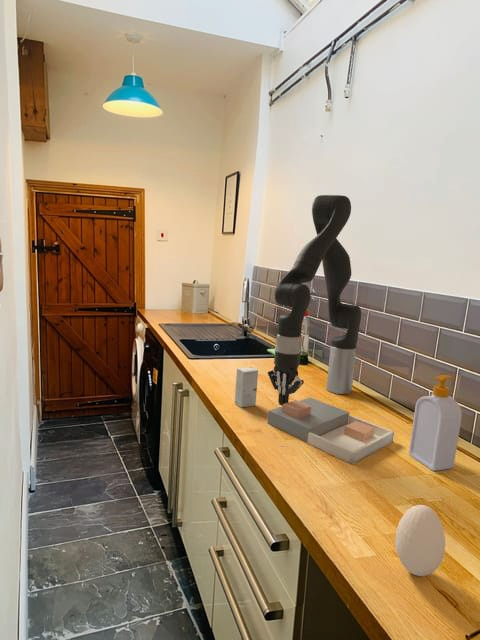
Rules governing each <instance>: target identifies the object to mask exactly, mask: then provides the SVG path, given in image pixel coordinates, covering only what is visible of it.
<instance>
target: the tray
mask: <svg viewBox="0 0 480 640" xmlns="http://www.w3.org/2000/svg"><path fill="white" fill-rule="evenodd" d="M355 421H357V422H360V423H362V424H365V425H368V426H370V427H373V428H375V431H374V436H373V437H372V438H370V439H368V440H366V441H365V442H361V441H359V440H357V439H354V438H352V437H349V436H347V435H344V432H345V426H347V425H349V424H351V423H353V422H355ZM394 435H395V431H393V430H390V429H388V428H386V427H382V426H380V425H377V424H374V423H372V422H370V421H367V420H364V419H362V418H360V417H356V416H354V415H352V414H351V415H350V414H349V421H348V424H346V425H344V426H342V427H339V428H337V429H335V430H333V431H330V432H328V433H326V434H323V435H321V436H318V435H316V434H313V433H311V432H309V433H308V442H307V444H308V445H311V446H313V447H314V448H316V449H319V450H321V451H323V452H325V453H327V454H329V455H332V456H333V457H336V458H338V459H340V460H342V461H344V462H347V463H348V464H350V465H352V466H353V465H355V464H356V463H358V462H360V461H361V460H363V459H365V458H367V457H368V456H370V455H373V454H374V453H376V452H378V451H379V450H381V449H383V448H384V447H386V446H387V445H389V444H392V443H393V442H394V438H395V437H394Z"/></svg>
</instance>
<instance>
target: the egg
mask: <svg viewBox="0 0 480 640" xmlns="http://www.w3.org/2000/svg"><path fill="white" fill-rule="evenodd" d="M395 531H396V532H395V539H394V541H395V551H396V554H397V557H398V558H399V561H400V562H401V564H402V566H403V567H404V568H405V569H406V570H407V571H408V572H409V573H410V574H412V575H415V576H419V577H425V576H426V577H427V576H428V575H431V574H433V573H434V572H435V571H436V570H437V569H438V568H439V567H440V566H441V564H442V562H443V559H444V556H445V553H446V536H445V531H444V527H443V524H442V522H441V519H440V518H439V516H438V514H437V513H436V512H435V510H434V509H432V508H431V507H429V506H427V505H423V504H417V505H413V506H412V507H410V508H409V509H408V510H407V511H406V512H405V513H404V514H403V515H402V517H401V518H400V519H399V522H398V524H397V528H396V530H395Z"/></svg>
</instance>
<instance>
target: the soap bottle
mask: <svg viewBox="0 0 480 640" xmlns="http://www.w3.org/2000/svg"><path fill="white" fill-rule="evenodd" d="M434 379H435V380H438V381H439V384H438V385H433V388H432V389H433V390H432V393H431V395H424V396H422V397H419V398H418V399H417V401H416V403H415V406H414V407H415V408H414V414H413V421H412V429H411V434H410V441H409V442H410V443H409V450H408V455H409V456H410V457H411V458H413V459H414V460H416V461H417V462H419V463H420V464H421V465H424V466H425V467H426V468H427V469H429V470H431V471H432V472H438V471H442V470H443V471H445V470H452V469H453V468H454V466H455V460H456V454H457V449H458V442H459V436H460V430H461V422H462V419H463V418H462V417H463V414H462V408H461V406H460V405H459V403H458V401H456V399H454V398H453V397H451V396H450V388H449V387H447V386H446V383H447V382H446V380H448V379H452V380H453V381H454V380H455V381H456V380H457V378H456V377H454V376H452V375H448V374H447V375H446V374H441V375H437V376H435V377H434Z"/></svg>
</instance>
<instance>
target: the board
mask: <svg viewBox="0 0 480 640" xmlns="http://www.w3.org/2000/svg"><path fill="white" fill-rule="evenodd" d="M298 401H299V402H302V403H304V404H307V405H310V406H311V414H310V415H307V416H304V417H302V418H299V419H297V418H294V417H292V416H290V415H287V414H285V413H283V412H282V406H279V407H276V408H273V409H270V410H268V417H267V424H269V425H271V426H273V427H275V428H277V429H279V430H281V431H283V432H285V433H287V434H290V435H291V436H294V437H295V438H297V439H300V440H301V441H304V442H306V443H308V433H309V432H311V433H313V434H316V435H318V436H321V435H323V434H326V433H328V432H330V431H333V430H335V429H337V428H339V427H342V426H344V425H346V424H348V423H349V416H350V411H347V410H344V409H341V408H339V407H336V406H334V405H331V404H329V403H326V402H323V401H321V400H318V399H316V398H313V397H307V398H304V399H301V400H298Z"/></svg>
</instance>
